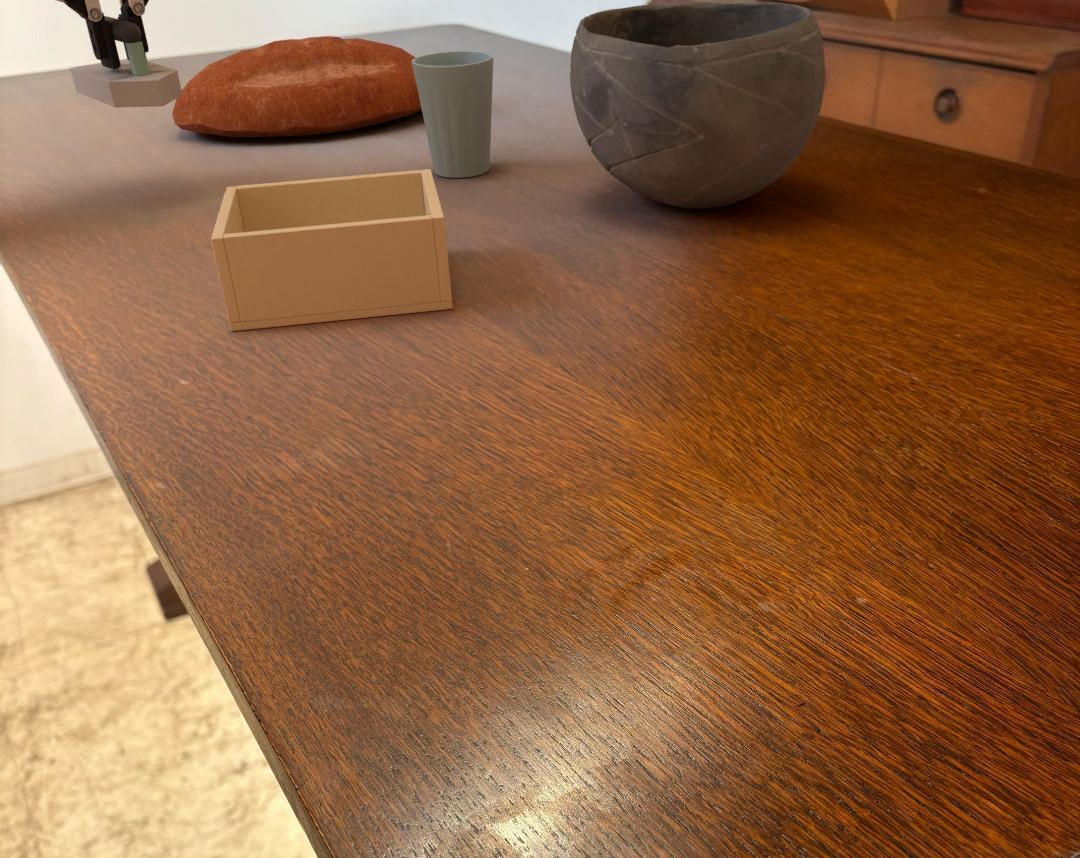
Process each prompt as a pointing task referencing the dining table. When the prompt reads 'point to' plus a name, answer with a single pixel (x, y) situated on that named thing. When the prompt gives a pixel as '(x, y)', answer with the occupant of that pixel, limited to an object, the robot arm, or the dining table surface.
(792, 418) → the dining table surface
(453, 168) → the cup
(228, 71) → the bread
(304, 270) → the open wooden box
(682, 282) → the dining table surface
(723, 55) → the bowl
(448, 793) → the dining table surface
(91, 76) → the handle on base
